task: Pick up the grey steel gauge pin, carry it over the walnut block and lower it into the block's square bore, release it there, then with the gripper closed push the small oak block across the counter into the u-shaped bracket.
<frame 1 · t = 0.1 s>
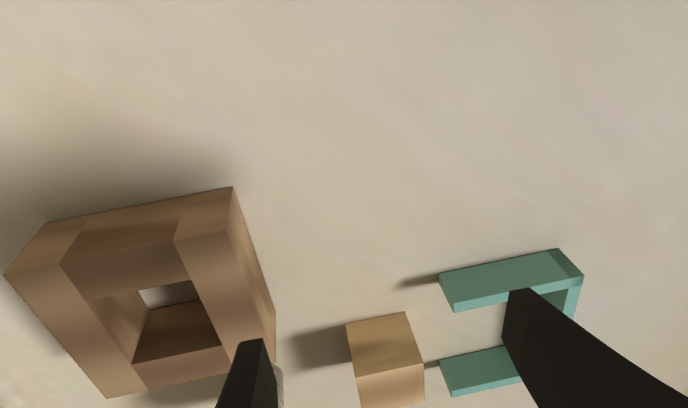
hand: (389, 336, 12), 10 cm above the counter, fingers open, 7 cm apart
oak block: (377, 336, 27), on the counter
bored block: (174, 272, 22), on the counter
u-shaped bracket: (488, 313, 28), on the counter
gauge pin: (259, 377, 28), on the counter
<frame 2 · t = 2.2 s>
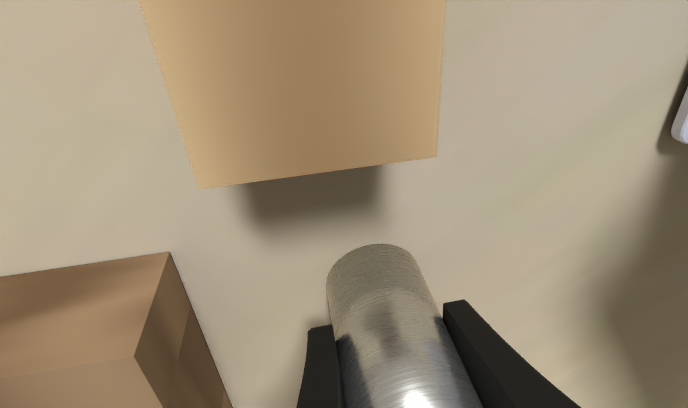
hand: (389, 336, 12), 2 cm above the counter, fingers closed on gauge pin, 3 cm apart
oak block: (293, 10, 9), on the counter
bored block: (76, 372, 14), on the counter
gauge pin: (373, 281, 14), on the counter, touching gripper
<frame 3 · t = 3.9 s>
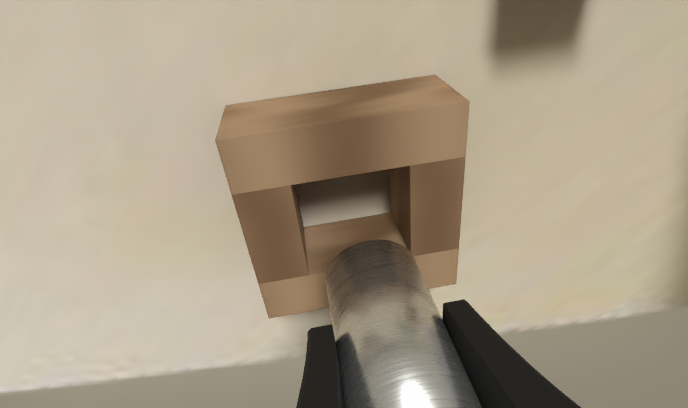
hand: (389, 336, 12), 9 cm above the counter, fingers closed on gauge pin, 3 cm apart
bored block: (343, 181, 19), on the counter
gauge pin: (371, 276, 14), point 7 cm above the counter, touching gripper
when the fingers open (4 cm above the counter, at t = 5.3 s): gauge pin drops 2 cm, resting in bored block.
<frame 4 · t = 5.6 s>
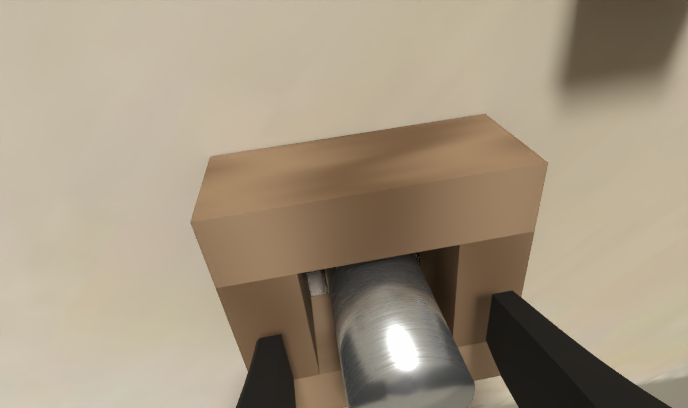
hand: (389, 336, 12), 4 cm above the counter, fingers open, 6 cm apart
bored block: (361, 243, 15), on the counter
gauge pin: (362, 243, 15), resting in bored block
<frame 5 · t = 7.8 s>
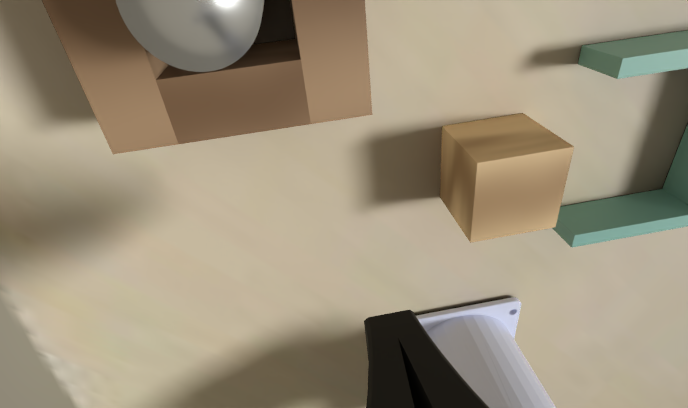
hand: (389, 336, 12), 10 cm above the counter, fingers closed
oak block: (478, 156, 20), on the counter
u-shaped bracket: (625, 133, 21), on the counter
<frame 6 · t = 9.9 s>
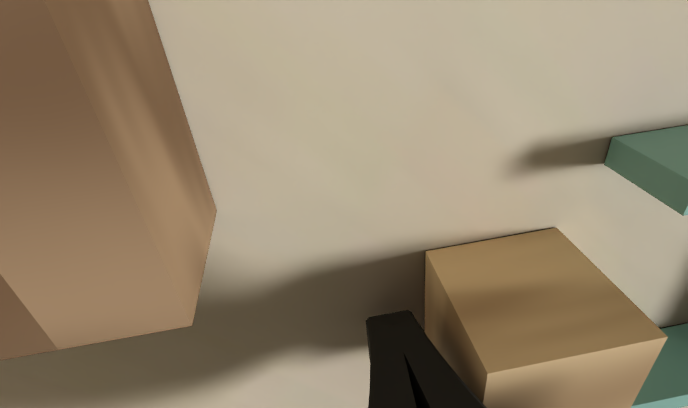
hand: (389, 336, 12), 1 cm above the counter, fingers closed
oak block: (485, 288, 13), on the counter, touching gripper
u-shaped bracket: (671, 254, 13), on the counter
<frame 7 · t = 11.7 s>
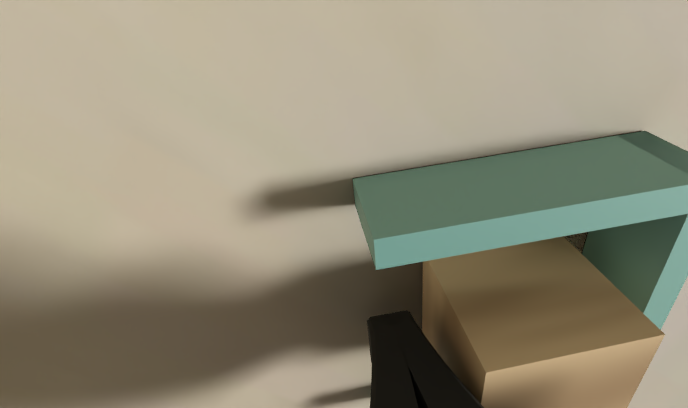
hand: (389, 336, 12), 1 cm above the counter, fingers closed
oak block: (482, 287, 13), on the counter, touching gripper
u-shaped bracket: (473, 291, 13), on the counter
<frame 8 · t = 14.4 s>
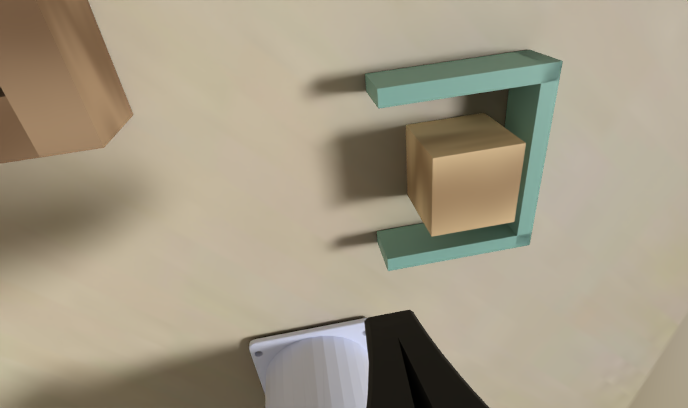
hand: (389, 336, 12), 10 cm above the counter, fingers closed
oak block: (443, 154, 21), on the counter
u-shaped bracket: (437, 157, 21), on the counter
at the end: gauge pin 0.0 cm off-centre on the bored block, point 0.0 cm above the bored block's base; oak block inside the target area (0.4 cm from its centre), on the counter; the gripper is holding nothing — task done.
